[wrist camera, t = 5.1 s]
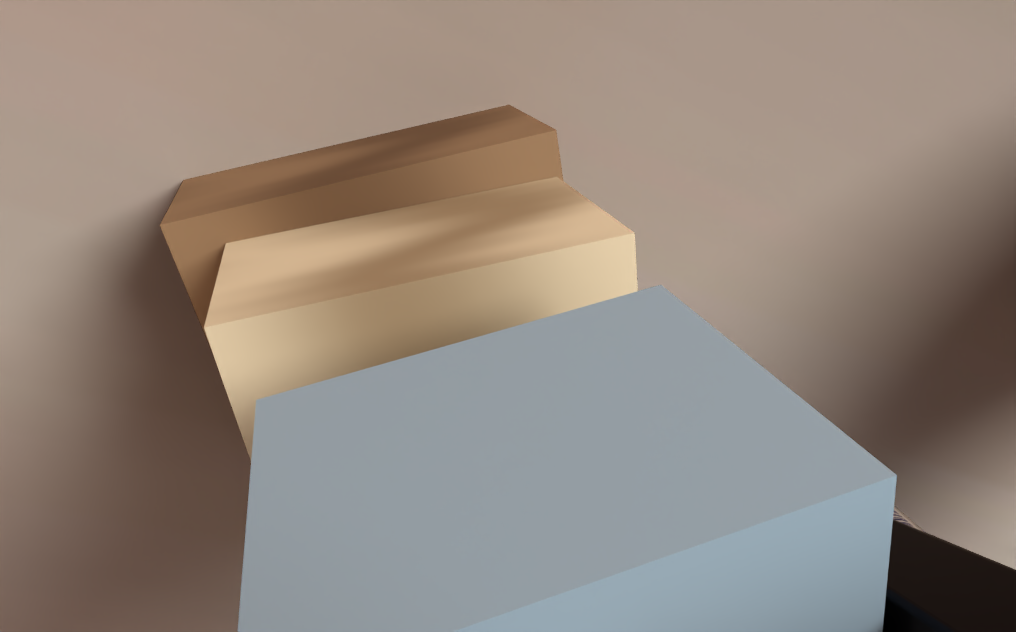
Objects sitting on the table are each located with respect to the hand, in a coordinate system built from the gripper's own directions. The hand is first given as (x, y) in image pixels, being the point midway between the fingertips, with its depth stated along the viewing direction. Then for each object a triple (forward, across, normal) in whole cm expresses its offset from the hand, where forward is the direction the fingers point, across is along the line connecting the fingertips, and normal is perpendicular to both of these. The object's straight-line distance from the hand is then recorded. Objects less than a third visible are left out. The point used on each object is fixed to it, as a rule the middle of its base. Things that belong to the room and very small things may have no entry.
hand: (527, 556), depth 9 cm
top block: (+1, 0, 0) cm, 1 cm away
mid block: (+6, 0, 0) cm, 6 cm away
